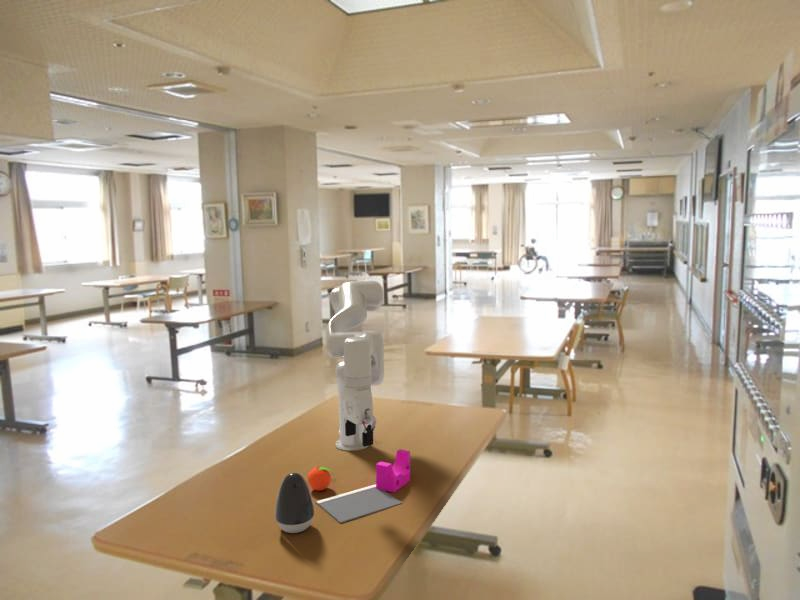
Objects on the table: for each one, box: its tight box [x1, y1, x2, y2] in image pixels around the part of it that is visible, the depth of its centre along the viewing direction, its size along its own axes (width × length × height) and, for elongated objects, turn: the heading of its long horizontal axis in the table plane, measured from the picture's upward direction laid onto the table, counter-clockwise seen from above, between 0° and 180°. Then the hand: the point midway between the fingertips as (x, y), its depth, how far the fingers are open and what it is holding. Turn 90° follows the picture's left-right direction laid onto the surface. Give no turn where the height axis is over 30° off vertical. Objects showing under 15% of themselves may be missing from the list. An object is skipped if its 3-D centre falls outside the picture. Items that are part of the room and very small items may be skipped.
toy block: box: [375, 449, 411, 493], centre depth 185 cm, size 15×6×8 cm, turn 152°
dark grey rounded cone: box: [274, 471, 315, 534], centre depth 157 cm, size 10×10×15 cm
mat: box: [315, 483, 403, 524], centre depth 172 cm, size 15×20×1 cm
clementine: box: [307, 466, 334, 492], centre depth 181 cm, size 8×7×7 cm
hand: (359, 440), depth 169 cm, fingers open, 9 cm apart
